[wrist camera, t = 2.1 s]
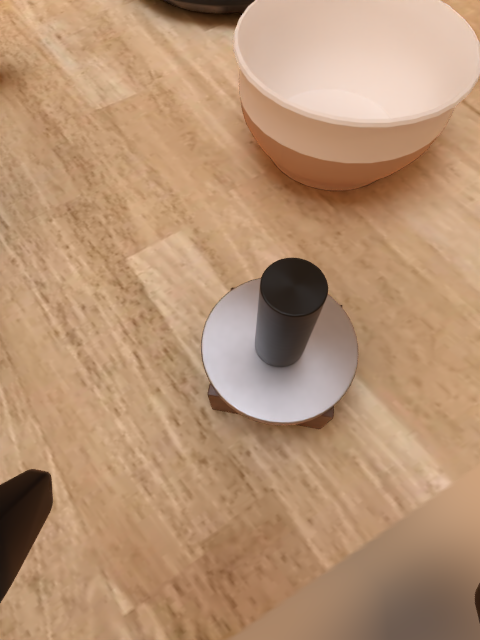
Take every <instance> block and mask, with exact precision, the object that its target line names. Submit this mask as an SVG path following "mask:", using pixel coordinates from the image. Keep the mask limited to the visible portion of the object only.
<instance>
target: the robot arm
mask: <svg viewBox="0 0 480 640" xmlns="http://www.w3.org/2000/svg"><path fill="white" fill-rule="evenodd" d="M52 504H53V494H52V479H51V475H50V473H49V472H46V471H41V470H36V469H30V470H27V471H25V472H23V473H21V474H20V475H18V476H16V477H14V478H12V479H10V480H8V481H7V482H5V483H3V484H1V485H0V603H1V601H2V599H3V598H4V596H5V595H6V593H7V591H8V590H9V588H10V586H11V585H12V583H13V581H14V579H15V577H16V576H17V574H18V572H19V570H20V568H21V566H22V564H23V562H24V560H25V559H26V557H27V555H28V553H29V551H30V549H31V547H32V545H33V543H34V542H35V540H36V538H37V536H38V534H39V532H40V530H41V528H42V526H43V525H44V523H45V521H46V519H47V517H48V515H49V513H50V511H51V508H52ZM475 605H476V610H477V613H478V617H479V622H480V583H479V585H478V587H477V589H476V592H475Z"/></svg>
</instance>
